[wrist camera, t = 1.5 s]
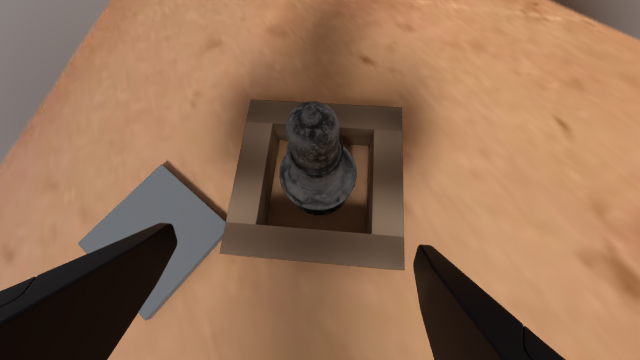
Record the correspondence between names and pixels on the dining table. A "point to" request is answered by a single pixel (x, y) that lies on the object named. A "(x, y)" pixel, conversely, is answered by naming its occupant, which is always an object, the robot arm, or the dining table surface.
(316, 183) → the grey chess piece
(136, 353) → the dining table surface
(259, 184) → the collar
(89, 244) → the coaster
